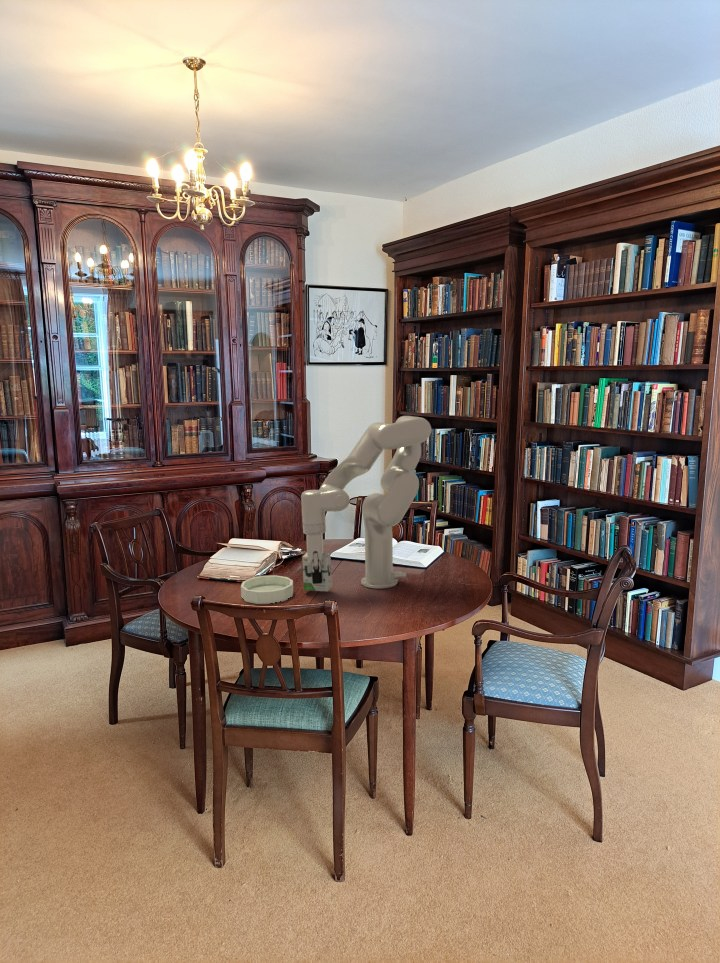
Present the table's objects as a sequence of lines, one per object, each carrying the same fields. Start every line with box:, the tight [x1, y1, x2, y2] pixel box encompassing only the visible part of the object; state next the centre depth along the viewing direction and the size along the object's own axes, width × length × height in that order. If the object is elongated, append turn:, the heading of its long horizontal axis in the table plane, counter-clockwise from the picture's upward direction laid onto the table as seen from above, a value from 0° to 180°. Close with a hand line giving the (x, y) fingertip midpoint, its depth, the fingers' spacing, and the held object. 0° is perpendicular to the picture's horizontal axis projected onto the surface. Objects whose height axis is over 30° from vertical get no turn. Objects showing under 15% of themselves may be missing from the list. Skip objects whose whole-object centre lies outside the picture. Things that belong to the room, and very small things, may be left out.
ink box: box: [301, 552, 333, 592], centre depth 214 cm, size 9×5×12 cm, turn 74°
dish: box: [240, 574, 294, 605], centre depth 214 cm, size 17×17×4 cm
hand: (317, 579), depth 215 cm, fingers closed on ink box, 6 cm apart
